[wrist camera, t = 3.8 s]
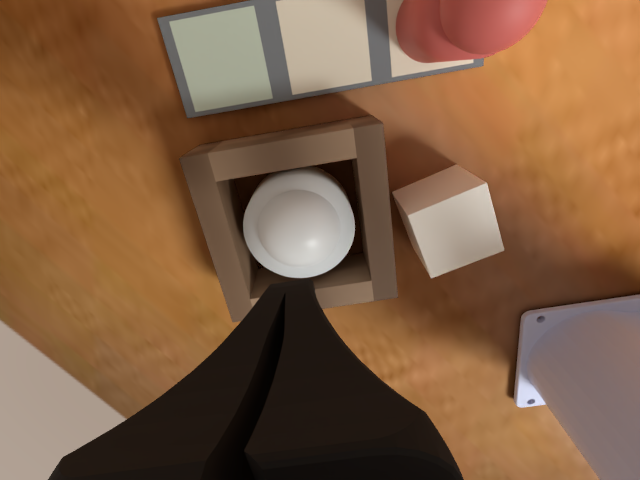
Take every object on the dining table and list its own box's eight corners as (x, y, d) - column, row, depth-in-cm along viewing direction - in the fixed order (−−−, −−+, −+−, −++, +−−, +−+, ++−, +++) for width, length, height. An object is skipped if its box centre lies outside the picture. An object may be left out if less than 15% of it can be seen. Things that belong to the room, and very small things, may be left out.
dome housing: (371, 115, 17) (383, 123, 14) (386, 268, 21) (398, 297, 18) (199, 144, 17) (178, 158, 15) (242, 290, 21) (232, 322, 18)
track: (481, -42, 15) (486, -45, 14) (479, 66, 16) (483, 66, 16) (160, 19, 15) (156, 18, 15) (190, 117, 17) (187, 118, 17)
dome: (342, 154, 18) (350, 174, 14) (355, 247, 20) (365, 285, 16) (240, 171, 18) (222, 196, 14) (263, 261, 20) (253, 302, 17)
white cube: (456, 163, 18) (487, 182, 15) (473, 221, 20) (504, 250, 16) (391, 191, 19) (407, 215, 16) (412, 246, 20) (431, 278, 17)
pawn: (467, -27, 15) (588, -103, 8) (466, 56, 16) (572, 45, 9) (393, -13, 15) (456, -77, 8) (398, 68, 16) (456, 65, 10)
